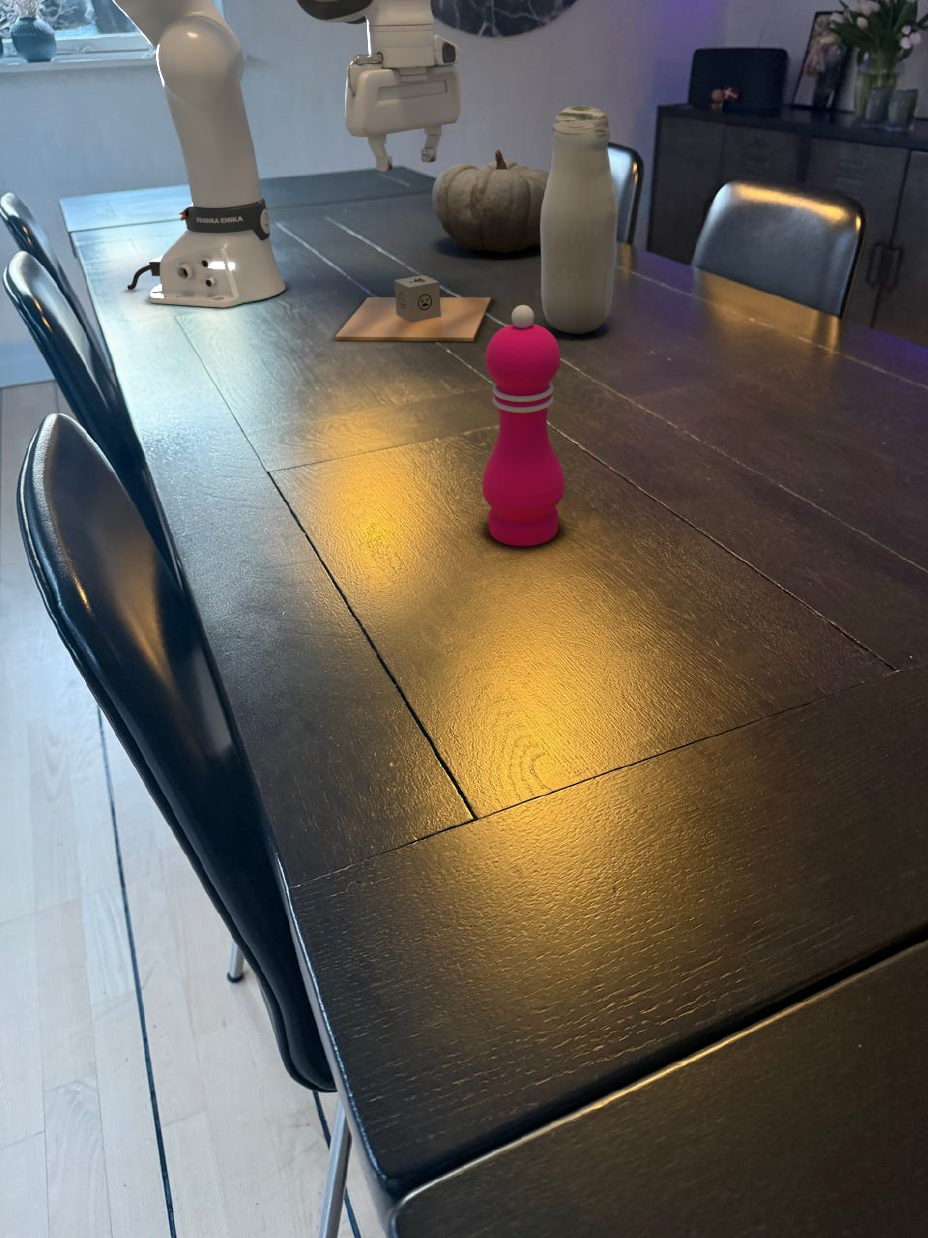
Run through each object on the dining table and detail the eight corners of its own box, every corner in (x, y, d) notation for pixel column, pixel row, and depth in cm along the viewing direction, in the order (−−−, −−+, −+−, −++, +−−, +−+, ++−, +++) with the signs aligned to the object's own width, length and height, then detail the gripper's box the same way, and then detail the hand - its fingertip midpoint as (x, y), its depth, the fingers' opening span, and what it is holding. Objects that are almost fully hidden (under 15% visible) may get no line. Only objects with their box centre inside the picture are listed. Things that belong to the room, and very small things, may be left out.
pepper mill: (479, 514, 84) (472, 295, 73) (556, 508, 84) (560, 289, 73) (488, 553, 78) (481, 322, 67) (569, 546, 78) (577, 315, 67)
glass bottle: (616, 322, 130) (629, 101, 114) (602, 344, 122) (613, 110, 106) (550, 318, 133) (554, 101, 117) (532, 339, 125) (533, 110, 109)
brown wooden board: (335, 340, 129) (335, 336, 128) (368, 300, 145) (367, 297, 144) (473, 341, 126) (473, 337, 125) (490, 301, 142) (490, 297, 142)
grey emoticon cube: (441, 316, 134) (439, 281, 131) (411, 322, 132) (408, 287, 129) (426, 308, 138) (424, 274, 135) (396, 314, 136) (393, 280, 133)
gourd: (405, 243, 165) (414, 138, 157) (457, 238, 186) (467, 144, 177) (532, 266, 158) (549, 157, 150) (571, 258, 179) (587, 161, 170)
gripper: (364, 55, 111) (373, 178, 119) (467, 47, 124) (468, 158, 132) (329, 54, 114) (339, 174, 122) (432, 46, 127) (436, 155, 135)
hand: (407, 166), depth 127 cm, fingers open, 8 cm apart
